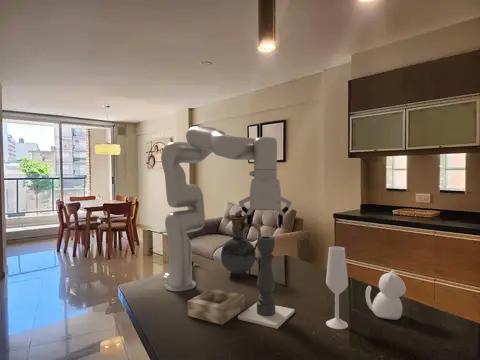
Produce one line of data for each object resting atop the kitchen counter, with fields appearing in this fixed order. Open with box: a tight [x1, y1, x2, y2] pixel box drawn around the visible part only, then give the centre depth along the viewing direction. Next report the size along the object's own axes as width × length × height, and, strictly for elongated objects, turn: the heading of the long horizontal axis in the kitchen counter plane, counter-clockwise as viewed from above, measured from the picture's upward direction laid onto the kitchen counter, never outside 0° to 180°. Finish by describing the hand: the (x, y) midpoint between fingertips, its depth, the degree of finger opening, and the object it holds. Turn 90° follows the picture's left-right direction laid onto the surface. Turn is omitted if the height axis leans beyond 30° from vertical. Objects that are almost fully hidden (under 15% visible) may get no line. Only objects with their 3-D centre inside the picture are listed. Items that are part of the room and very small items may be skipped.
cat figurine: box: [364, 269, 407, 321], centre depth 115 cm, size 9×12×15 cm
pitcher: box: [220, 209, 262, 279], centre depth 159 cm, size 11×19×30 cm, turn 63°
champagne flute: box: [325, 245, 349, 330], centre depth 109 cm, size 7×7×24 cm
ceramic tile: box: [237, 302, 295, 329], centre depth 116 cm, size 14×14×1 cm
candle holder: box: [256, 235, 276, 316], centre depth 116 cm, size 6×6×25 cm
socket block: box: [187, 288, 246, 326], centre depth 119 cm, size 14×14×5 cm
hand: (264, 226), depth 115 cm, fingers open, 9 cm apart
